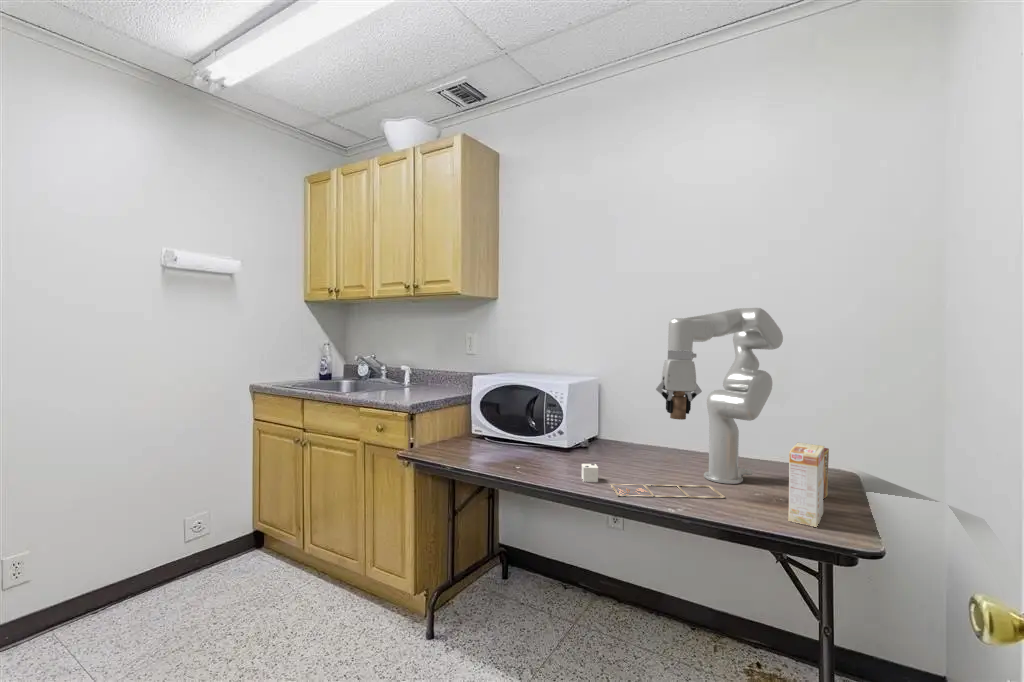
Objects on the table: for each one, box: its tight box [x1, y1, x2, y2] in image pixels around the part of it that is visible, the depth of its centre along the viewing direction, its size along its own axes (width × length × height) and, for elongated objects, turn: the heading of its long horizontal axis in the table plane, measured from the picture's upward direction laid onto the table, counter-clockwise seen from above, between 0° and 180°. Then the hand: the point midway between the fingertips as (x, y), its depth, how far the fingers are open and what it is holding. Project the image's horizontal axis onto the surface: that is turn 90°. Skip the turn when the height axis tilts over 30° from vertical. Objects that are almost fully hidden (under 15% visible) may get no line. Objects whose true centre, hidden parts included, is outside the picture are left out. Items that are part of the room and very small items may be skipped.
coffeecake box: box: [787, 442, 825, 528], centre depth 131 cm, size 15×7×20 cm, turn 141°
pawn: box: [669, 391, 687, 421], centre depth 151 cm, size 5×5×10 cm
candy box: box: [823, 447, 830, 500], centre depth 148 cm, size 9×4×15 cm, turn 137°
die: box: [581, 463, 599, 483], centre depth 163 cm, size 5×5×5 cm
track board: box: [609, 483, 727, 499], centre depth 152 cm, size 34×12×1 cm, turn 89°
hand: (677, 412), depth 151 cm, fingers closed on pawn, 4 cm apart
